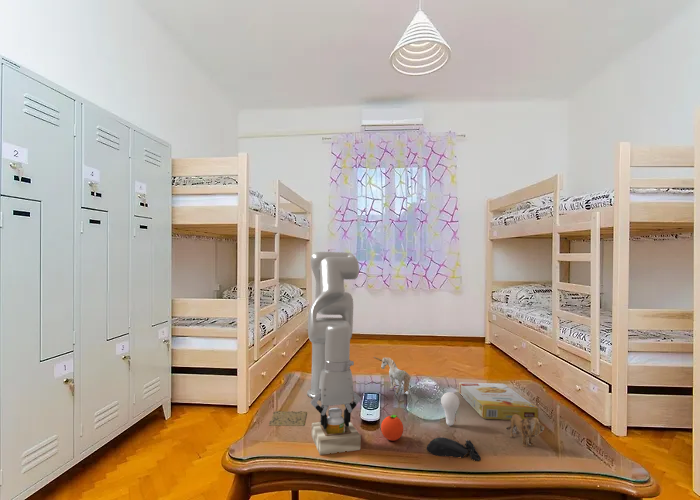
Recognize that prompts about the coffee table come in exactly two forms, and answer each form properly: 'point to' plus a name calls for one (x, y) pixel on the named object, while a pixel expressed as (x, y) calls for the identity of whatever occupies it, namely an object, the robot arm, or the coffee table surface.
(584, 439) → the coffee table surface
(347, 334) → the robot arm
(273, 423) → the cookie
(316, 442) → the socket block
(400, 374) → the unicorn figurine
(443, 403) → the lightbulb
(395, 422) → the clementine
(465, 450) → the black computer mouse
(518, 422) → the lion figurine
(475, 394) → the cereal box
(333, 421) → the supplement bottle
